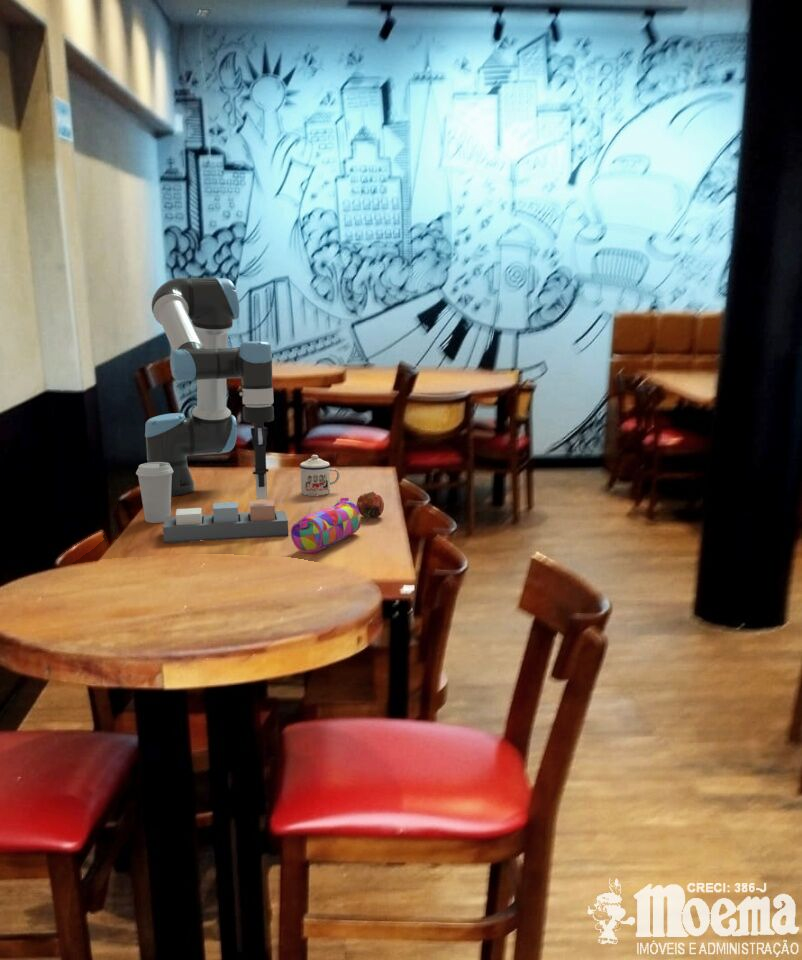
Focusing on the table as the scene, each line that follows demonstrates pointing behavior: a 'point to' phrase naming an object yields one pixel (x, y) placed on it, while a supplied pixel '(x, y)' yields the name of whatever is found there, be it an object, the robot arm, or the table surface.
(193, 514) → the ivory key
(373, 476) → the table surface
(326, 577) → the table surface
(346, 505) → the pencil case
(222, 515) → the slate key
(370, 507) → the pomegranate
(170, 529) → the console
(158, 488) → the coffee cup
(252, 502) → the terracotta key
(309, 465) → the teacup with lid
